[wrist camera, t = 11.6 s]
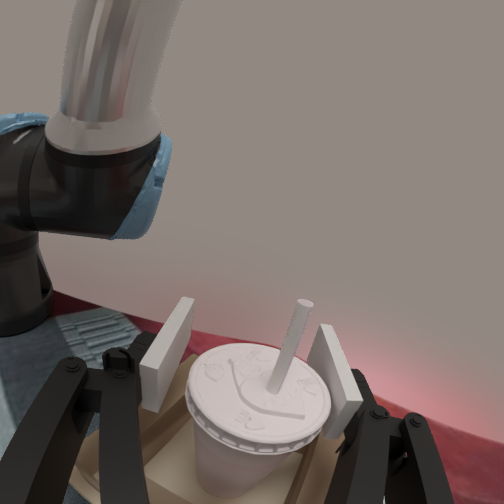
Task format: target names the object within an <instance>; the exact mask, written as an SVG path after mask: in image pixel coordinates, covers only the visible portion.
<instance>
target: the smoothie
mask: <svg viewBox="0 0 504 504" xmlns="http://www.w3.org/2000/svg"><path fill="white" fill-rule="evenodd" d="M312 307H313V303H312V302H310V301H308V300H305V299H299V300H298V302H297V305H296V308H295V311H294V314H293V317H292V320H291V323H290V326H289V328H288V331H287V334H286V337H285V340H284V343H283V345H282V348H281V350H278V349H275V348H272V347H268V346H264V345H257V344H247V343H237V344H227V345H222V346H218V347H215V348H213V349H210V350H208V351H206V352H205V353H203V354H202V355H201V356H199V357H198V358H197V359H196V360H195V362H194V363H193V365H192V367H191V369H190V372H189V378H188V380H187V383H186V389H185V398H186V403H187V407H188V410H189V412H190V413H191V415H192V417H193V425H194V441H195V455H196V468H197V478H198V481H199V483H200V485H201V486H202V487H203V488H204V489H205V490H206V491H207V492H208V493H210V494H212V495H214V496H217V497H220V498H236V497H239V496H242V495H243V494H245V493H246V492H248V491H249V490H250V489H251V488H253V487H254V486H255V485H256V484H257V483H259V482H260V481H261V480H262V479H263V478H264V477H266V476H267V475H268V474H269V473H270V472H271V471H272V470H274V469H275V468H276V467H277V466H278V465H279V464H280V463H281V462H282V461H283V460H284V459H286V458H287V457H288V456H289V455H290V454H291V453H292V452H293V451H296V450H298V449H300V448H302V447H303V446H305V445H307V444H309V443H310V442H311V441H312V440H313V439H314V438H315V437H316V436H317V435H318V434H319V433H320V431H321V429H322V426H323V424H324V423H325V421H326V420H327V418H328V416H329V413H330V409H331V398H330V393H329V390H328V388H327V386H326V384H325V383H324V381H323V380H322V378H321V377H320V376H319V375H318V374H317V373H316V372H315V370H313V369H312V368H311V367H310V366H309V365H307V364H306V363H305V362H303V361H301V360H300V359H298V358H297V357H295V356H294V355H295V353H296V350H297V348H298V345H299V342H300V340H301V337H302V335H303V332H304V329H305V327H306V324H307V321H308V318H309V316H310V313H311V310H312Z"/></svg>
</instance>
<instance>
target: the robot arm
mask: <svg viewBox="0 0 504 504" xmlns="http://www.w3.org/2000/svg"><path fill="white" fill-rule="evenodd" d="M181 2H182V0H76V4H75V8H74V11H73V16H72V20H71V25H70V29H69V34H68V40H67V45H66V51H65V58H64V66H63V75H62V86H61V101H60V107H59V108H58V109H57V110H56V112H55V113H54V114H53V115H52V116H51V117H50V118H49V117H48V116H47V115H44V114H40V113H28V112H27V113H21V114H16V113H11V114H5V115H0V336H8V335H14V334H18V333H21V332H24V331H27V330H29V329H31V328H33V327H35V326H37V325H39V324H40V323H41V322H43V321H44V320H45V319H46V318H47V317H48V316H49V315H50V313H51V312H52V310H53V307H54V295H53V286H52V283H51V280H50V277H49V275H48V272H47V269H46V267H45V264H44V261H43V258H42V255H41V252H40V249H39V240H38V239H39V238H38V231H40V232H49V233H58V234H66V235H76V236H84V237H92V238H101V239H108V240H114V239H138V238H140V237H142V236H143V235H144V234H146V232H147V231H148V229H149V227H150V226H151V223H152V221H153V218H154V216H155V213H156V209H157V206H158V203H159V200H160V196H161V192H162V187H163V186H162V184H163V183H164V179H165V176H166V174H167V170H168V166H169V161H170V156H171V150H172V141H171V139H170V138H169V137H167V136H165V135H163V134H160V133H161V129H162V119H161V117H160V115H159V114H158V113H157V111H156V110H155V109H154V108H153V106H152V105H151V100H152V96H153V92H154V88H155V84H156V80H157V76H158V72H159V68H160V65H161V62H162V58H163V55H164V51H165V48H166V45H167V42H168V39H169V36H170V33H171V30H172V27H173V24H174V21H175V18H176V15H177V12H178V10H179V7H180V5H181ZM194 304H195V299H192V298H187V297H182V298H181V300H180V301H179V303H178V304H177V306H176V307H175V309H174V310H173V312H172V313H171V315H170V316H169V318H168V320H167V321H166V323H165V324H164V326H163V327H162V329H161V330H160V332H159V333H158V335H157V334H153V333H150V332H146V331H145V332H143V333H141V334H139V335H137V337H136V338H135V339H134V341H133V342H132V344H131V345H130V347H129V348H128V349H124V348H120V347H116V348H110V349H107V350H106V351H105V352H104V353H103V355H102V359H103V367H104V369H93V368H87V365H86V363H85V361H84V360H83V359H81V358H79V357H73V356H72V357H66V358H64V359H62V360H61V361H60V362H59V363H58V365H57V366H56V368H55V369H54V371H53V372H52V374H51V375H50V377H49V378H48V380H47V381H46V383H45V384H44V386H43V387H42V389H41V390H40V392H39V393H38V395H37V397H36V398H35V400H34V401H33V403H32V405H31V406H30V408H29V410H28V411H27V413H26V415H25V416H24V418H23V420H22V421H21V423H20V425H19V427H18V428H17V430H16V432H15V434H14V436H13V438H12V439H11V441H10V443H9V445H8V447H7V449H6V451H5V453H4V455H3V457H2V459H1V461H0V504H62V503H63V499H64V496H65V492H66V489H67V486H68V483H69V480H70V477H71V474H72V471H73V468H74V465H75V462H76V459H77V456H78V454H79V451H80V448H81V445H82V443H83V440H84V437H85V435H86V432H87V430H88V427H89V425H90V422H91V420H92V417H93V415H94V412H96V413H100V424H99V486H100V500H101V504H150V502H149V497H148V491H147V485H146V479H145V472H144V465H143V457H142V449H141V439H140V427H139V413H138V407H139V405H140V403H141V402H142V408H144V409H147V410H150V411H153V412H156V413H158V412H159V410H160V407H161V405H162V403H163V400H164V398H165V395H166V393H167V391H168V388H169V386H170V384H171V381H172V379H173V377H174V374H175V372H176V370H177V367H178V365H179V363H180V360H181V358H182V356H183V353H184V351H185V349H186V347H187V344H188V342H189V340H190V336H191V328H192V319H193V312H194ZM307 362H308V365H309V366H310V367H311V368H312V369H313V370H315V372H316V373H317V374H318V375H319V376H320V377H321V378H322V380H323V381H324V383H325V384H326V386H327V388H328V390H329V393H330V398H331V409H330V413H329V416H328V418H327V420H326V421H325V423H324V424H323V426H322V434H323V439H339V437H340V436H341V434H342V433H343V432H344V436H345V439H344V441H343V442H342V443H341V445H340V446H339V447H338V449H337V450H336V452H335V453H338V451H339V450H340V451H339V455H338V459H337V463H336V466H335V470H334V473H333V476H332V480H331V483H330V486H329V489H328V492H327V495H326V498H325V501H324V504H383V499H384V496H385V504H454V501H453V497H452V494H451V490H450V487H449V483H448V480H447V477H446V474H445V471H444V467H443V464H442V461H441V458H440V456H439V453H438V450H437V447H436V444H435V442H434V439H433V436H432V434H431V431H430V428H429V426H428V423H427V421H426V419H425V418H424V417H423V416H422V415H420V414H418V413H413V412H412V413H408V414H407V415H406V416H405V417H404V419H400V418H395V417H391V416H390V414H389V412H388V411H387V410H386V409H385V408H384V407H382V406H380V405H377V403H376V401H375V399H374V397H373V394H372V392H371V390H370V388H369V386H368V383H367V381H366V379H365V377H364V375H363V374H362V373H361V372H360V371H359V370H358V369H350V367H349V364H348V362H347V360H346V357H345V355H344V353H343V350H342V348H341V346H340V343H339V341H338V339H337V336H336V334H335V332H334V330H333V327H332V325H326V324H320V325H319V328H318V331H317V334H316V337H315V339H314V342H313V345H312V347H311V350H310V353H309V356H308V358H307ZM405 453H407V457H406V454H405Z"/></svg>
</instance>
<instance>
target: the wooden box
mask: <svg viewBox="0 0 504 504" xmlns="http://www.w3.org/2000/svg"><path fill="white" fill-rule="evenodd" d="M198 357H199V356H198V355H196V354H194V353H193V354H192V355H191V356H190V357H188V358H187V359H186V360H185V361H184V362H182V363H181V364H180V365H179V366H178V367H177V370H176V372H175V374H174V377H173V379H172V381H171V384H170V386H169V388H168V391H167V393H166V395H165V398H164V400H163V403H162V405H161V407H160V410H159V412H158V413H156V412H153V411H150V410H147V409H144V408H142V402H141V403H140V405H139V407H138V413H139V427H140V439H141V449H142V457H143V465H144V472H145V479H146V485H147V491H148V497H149V502H150V504H324V501H325V498H326V495H327V492H328V489H329V486H330V483H331V480H332V476H333V473H334V470H335V466H336V463H337V459H338V455H339V451H340V450H339V451H338V453H335V452H336V450H337V449H338V447H339V446H340V445H341V443H342V442H343V441H344V439H345V436H344V432H343V433H342V434H341V436H340V437H339V439H323V434H322V429H321V431H320V433H319V434H318V435H317V436H316V437H315V438H314V439H313V440H312V441H311V442H310V443H309V444H307V445H305V446H303V447H302V448H300V449H298V450H296V451H293V452H292V453H291V454H290V455H289V456H288V457H287V458H286V459H284V460H283V461H282V462H281V463H280V464H279V465H278V466H277V467H276V468H275V469H274V470H272V471H271V472H270V473H269V474H268V475H267V476H266V477H264V478H263V479H262V480H261V481H260V482H259V483H257V484H256V485H255V486H254V487H253V488H251V489H250V490H249V491H248V492H246V493H245V494H243V495H242V496H239V497H236V498H220V497H217V496H214V495H212V494H210V493H208V492H207V491H206V490H205V489H204V488H203V487H202V486H201V485H200V483H199V481H198V478H197V468H196V455H195V441H194V425H193V417H192V415H191V413H190V412H189V410H188V407H187V403H186V398H185V389H186V383H187V380H188V378H189V372H190V369H191V367H192V365H193V363H194V362H195V360H196V359H197V358H198ZM69 484H70V485H71V486H72V487H73V488H74V489H75V490H76V491H77V492H78V493H79V494H81V495H82V496H83V497H84V498H85V499H86V500H87V501H88V502H90V503H91V504H101V500H100V486H99V428H98V429H97V430H96V431H94V432H93V433H92V434H90V435H89V436H88V437H86V438H85V439H84V440H83V443H82V445H81V448H80V451H79V454H78V456H77V459H76V462H75V465H74V468H73V471H72V474H71V477H70V480H69Z"/></svg>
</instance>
